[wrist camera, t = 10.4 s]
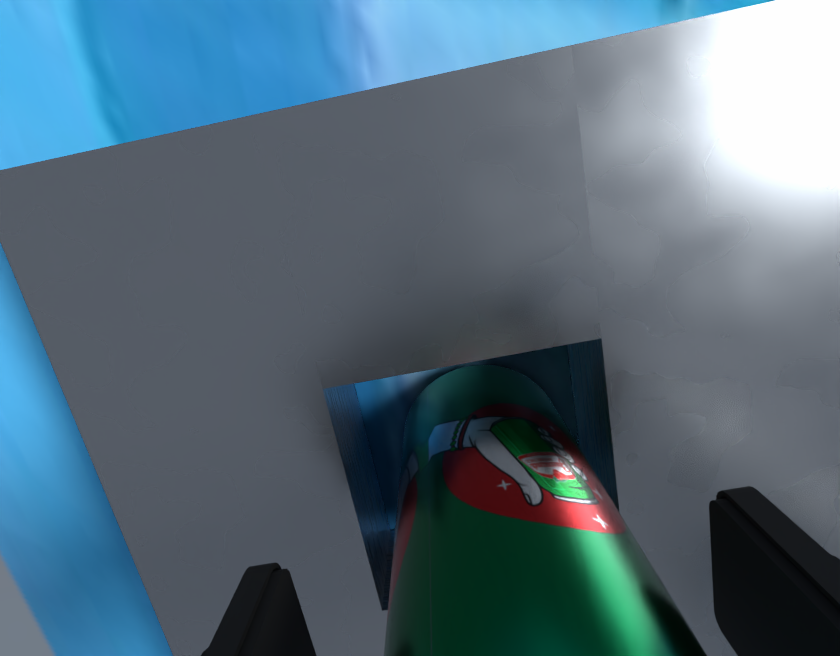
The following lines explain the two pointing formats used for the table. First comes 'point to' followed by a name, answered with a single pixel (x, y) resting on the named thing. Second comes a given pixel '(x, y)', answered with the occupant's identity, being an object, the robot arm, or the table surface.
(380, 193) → the bore block
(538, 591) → the soda can
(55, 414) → the table surface
